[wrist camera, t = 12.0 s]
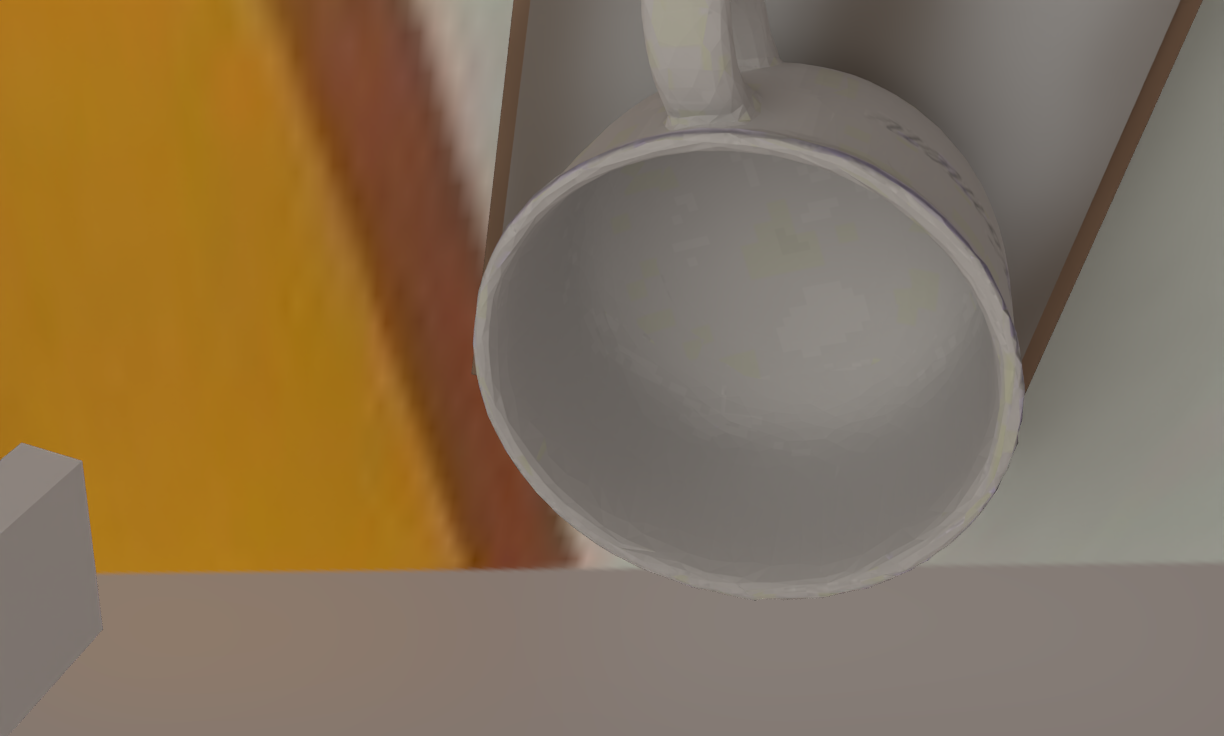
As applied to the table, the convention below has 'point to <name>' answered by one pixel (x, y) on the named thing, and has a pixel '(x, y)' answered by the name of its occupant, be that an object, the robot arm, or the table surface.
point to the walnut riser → (914, 71)
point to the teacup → (756, 324)
